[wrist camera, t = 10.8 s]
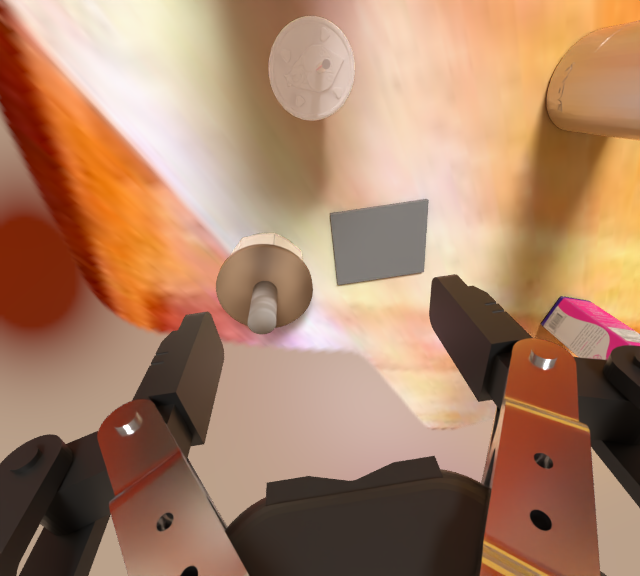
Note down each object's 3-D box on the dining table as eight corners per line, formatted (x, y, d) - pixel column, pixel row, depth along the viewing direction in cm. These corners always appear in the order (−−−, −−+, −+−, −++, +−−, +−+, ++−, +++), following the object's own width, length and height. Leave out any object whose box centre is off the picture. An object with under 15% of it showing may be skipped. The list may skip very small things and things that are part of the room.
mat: (426, 199, 39) (428, 200, 38) (422, 269, 44) (423, 271, 43) (329, 213, 38) (330, 214, 38) (337, 282, 44) (337, 285, 43)
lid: (304, 236, 34) (308, 266, 29) (317, 316, 40) (322, 355, 34) (204, 251, 34) (188, 284, 28) (232, 329, 40) (222, 370, 34)
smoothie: (344, 102, 32) (378, 106, 21) (286, 123, 33) (286, 140, 21) (326, 25, 29) (355, -22, 17) (262, 50, 30) (246, 21, 18)
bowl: (297, 227, 39) (298, 243, 35) (308, 292, 44) (310, 313, 40) (220, 239, 39) (212, 256, 35) (240, 302, 44) (235, 324, 40)
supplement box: (568, 328, 53) (632, 381, 43) (539, 324, 52) (598, 377, 42) (591, 300, 50) (665, 350, 40) (560, 294, 49) (629, 344, 39)
